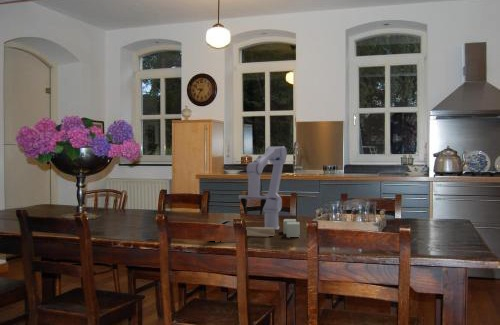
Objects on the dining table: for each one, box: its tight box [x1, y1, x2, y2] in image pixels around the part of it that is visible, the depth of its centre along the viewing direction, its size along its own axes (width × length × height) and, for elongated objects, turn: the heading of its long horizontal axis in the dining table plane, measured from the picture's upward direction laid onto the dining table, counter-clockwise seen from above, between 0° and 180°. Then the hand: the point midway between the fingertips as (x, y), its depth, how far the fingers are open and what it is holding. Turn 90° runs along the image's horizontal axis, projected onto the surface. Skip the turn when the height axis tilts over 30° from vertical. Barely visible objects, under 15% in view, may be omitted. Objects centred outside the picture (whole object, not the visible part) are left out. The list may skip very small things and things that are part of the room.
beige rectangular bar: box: [245, 226, 276, 237], centre depth 235 cm, size 4×14×4 cm, turn 82°
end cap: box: [286, 221, 301, 238], centre depth 233 cm, size 8×6×6 cm
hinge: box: [217, 219, 234, 225], centre depth 224 cm, size 17×5×10 cm, turn 157°
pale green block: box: [282, 218, 297, 235], centre depth 243 cm, size 8×6×6 cm
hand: (253, 214), depth 238 cm, fingers open, 7 cm apart
